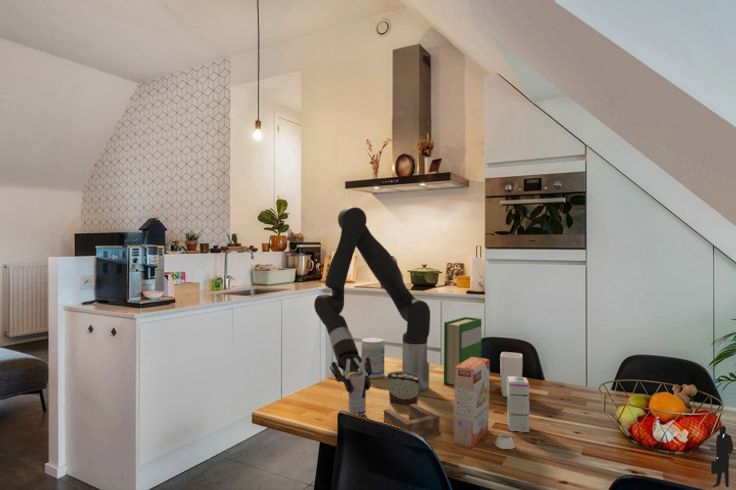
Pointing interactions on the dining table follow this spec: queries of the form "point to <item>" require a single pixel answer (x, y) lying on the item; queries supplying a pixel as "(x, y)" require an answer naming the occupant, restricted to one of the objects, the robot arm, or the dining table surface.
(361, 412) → the energy drink
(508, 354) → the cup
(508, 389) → the syrup box
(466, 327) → the hardback book
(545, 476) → the dining table surface
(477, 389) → the cracker box
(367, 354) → the supplement tub
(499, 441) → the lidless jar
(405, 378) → the food container
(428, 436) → the walnut cradle
